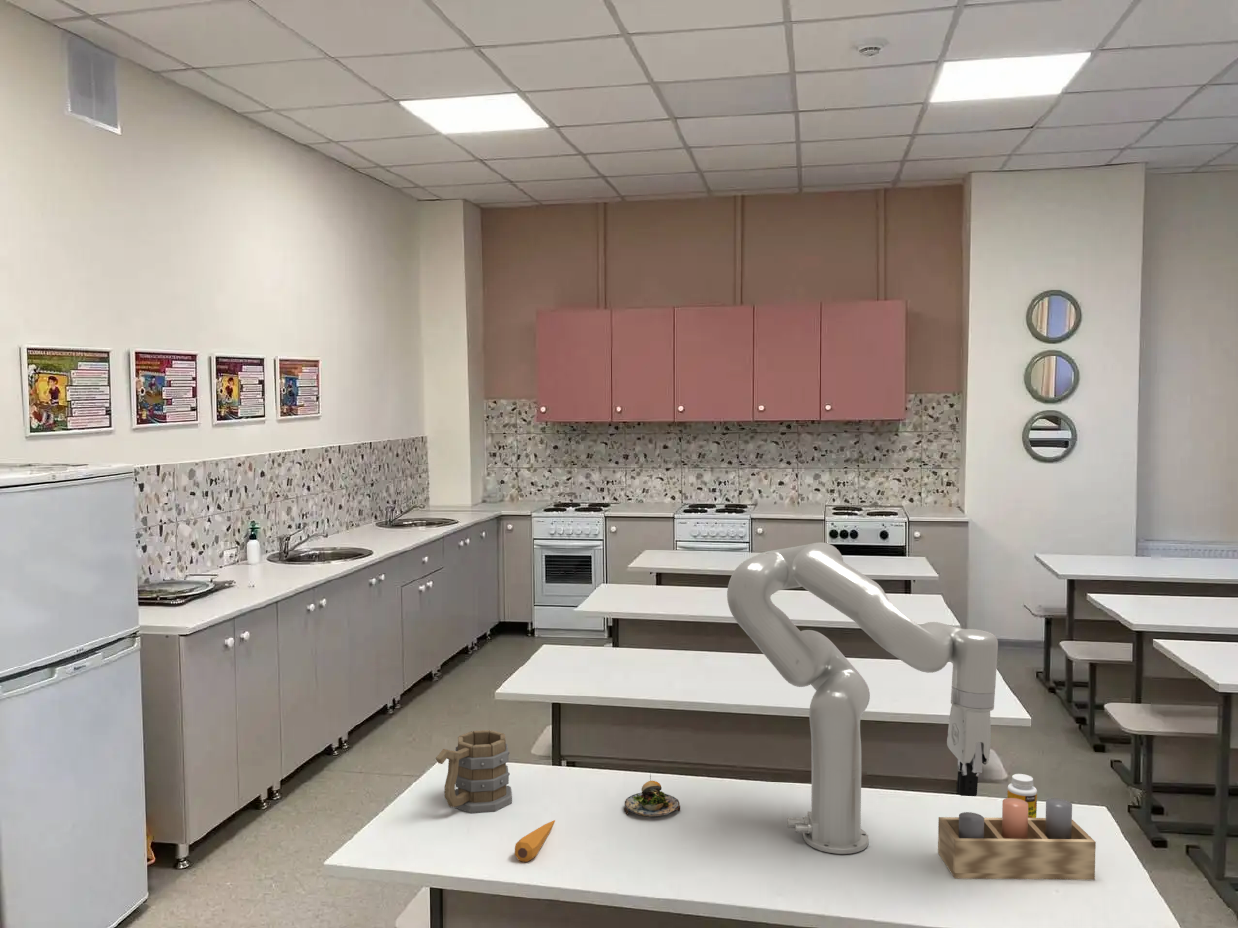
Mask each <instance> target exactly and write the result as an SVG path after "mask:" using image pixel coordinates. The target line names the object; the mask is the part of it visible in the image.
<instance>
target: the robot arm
mask: <svg viewBox="0 0 1238 928" xmlns="http://www.w3.org/2000/svg"><path fill="white" fill-rule="evenodd" d="M801 587H802V588H803V589H805V590H806V591H807V592H809V593H811V594H813V595H814V596H816V598H819V599H820V600H821V601H822V602H825V603H827V604H828V605H830V606H831V607H832V608H834V609H836V611H839V613H841V614H843V615H844V616H846V617H847V618H849V619H850V620H852V621H853V622H854V623H856V624H857V626H858V627H859V628H860V629H861V630H862V631H864V633H866V635H868V636H869V637H870V639H872V640H873V641H874V642H875V643H877V645H879V646H880V647H881V648H882V649H884V650H885V651H886V652H888V653H889V654H891V655H892V656H893V657H895V658H896V659H898V660H900V661H901V662H903V663H905V665H908V666H909V667H911V668H912V669H915V670H916V671H918V672H921V673H922V672H923V673H927V674H928V673H938V672H939V671H941V670H942V669H944V668H945V666H946V665H947V664H948V663H951V664H952V672H951V673H952V675H951V676H952V677H951V689H950V690H951V693H950V704H951V705H950V706H951V707H950V712H949V718H948V719H949V720H948V729H947V738H946V745H947V748H948V749H949V750H950V752H951V754H953V755H954V757H955V758H956V759H957V770H958V771H957V779H956V782H957V783H956V792H957V793H958V794H959V796H961V797H962V796H963V797H977V795H978V783H979V781H978V780H979V775H980V774H983V765H984V766H986V765H987V764H988V763H989V762H990V756H991V755H990V754H991V742H992V741H991V740H992V739H991V737H992V736H991V732H992V731H991V728H992V727H991V722H992V721H991V711H994V709H995V699H996V698H995V695H996V681H997V666H998V664H997V663H998V651H999V650H998V647H999V641H998V638H997V635H995V634H993V633H992V632H990V631H987V630H982V629H976V628H961V627H957V626H953V625H949V624H946V623H941V622H938V621H929V622H928V621H927V622H925V623H923V624H921V625H920V624H918V623H917V622H915V621H913V620H912V619H910V618H909V617H908V616H906V615H905V614H903V613H902V612H901V611H900V610H898V608H896V606H894V605H893V603H892V602H891V601H890V599H889V598H888V595H887V594H886V592H885V590H884V588H882V586H881V585H879V583H878V582H876V581H875V580H873V579H871V578H870V577H869V576H867V575H865V574H863V573H862V572H860V571H858V570H857V569H855V568H854V567H852V566H851V565H849V564H847V563H845V562H844V558H843V556H842V553H841V552H840V550H839V549H837V547H836V546H834V545H833V544H831V543H830V544H829V543H827V542H821V541H820V542H813V543H809V544H803V545H798V546H791V547H786V548H779V549H773V550H768V551H763V552H761V553H758V554H757V555H754V556H752V557H750V558H747V559H746V560H744V561H743V562H741V563H740V564H739V565H738V566H737V567H736V568H735V569H734V571H733V572H732V574H731V576H730V579H729V582H728V585H727V590H726V591H727V592H726V597H727V604H728V607H729V610H730V612H731V615H732V617H733V618H734V620H735V622H736V623H737V624H738V626H739V627H740V628H741V629H742V630H743V631H744V632H745V634H746V635H747V636H748V637H749V638H750V640H751V641H752V642H753V643H754V644H755V645H756V647H757V648H758V650H759V651H761V653H762V655H764V656H765V657H766V659H767V660H768V662H770V663H771V665H772V666H773V667H774V668H775V670H776V671H777V672H778V673H779V674H780V675H781V677H782V678H783V679H784V680H785V681H786V682H787V683H788V684H790V685H792V686H794V687H797V688H804V687H809V686H810V685H811V686H812V688H813V689H814V690H815V692H814V694H813V696H812V698H811V701H810V705H809V711H808V715H809V726H810V727H809V728H810V738H811V793H810V794H811V796H810V797H811V798H810V799H811V804H810V807H811V808H810V811H807V816H804V815H803V816H802V817H801V818H799V817H798V818H797V817H786V825H787V826H786V827H787V828H788V829H794V830H795V833H802V837H803V838H802V839H803V841H804V842H805V843H806V844H807V845H808V846H810V847H812V848H813V849H815V850H818V851H821V852H825V853H829V854H836V855H849V854H855V853H858V852H862V851H864V850H865V849H867V847H868V845H869V843H870V842H869V840H870V838H869V835H868V833H867V832H866V831H865V830H864V829H862V828H861V827H862V826H861V825H862V824H861V823H862V822H861V821H862V813H861V812H862V741H861V740H862V737H861V718H862V717H863V714H864V712H865V711H866V709H867V707H868V706H869V703H870V699H871V698H870V697H871V696H870V695H871V693H870V688H869V686H868V684H867V682H866V680H865V678H864V677H863V676H862V675H861V673H860V672H859V671H858V670H857V669H856V668H855V666H854V665H853V663H852V662H850V661H849V660H848V658H846V657H845V655H844V654H843V653H842V652H841V650H839V648H838V647H837V646H836V645H835V644H834V642H832V641H831V640H830V639H829V637H827V636H825V635H824V634H822V633H821V632H819V631H817V630H812V629H802V630H800V629H799V628H798V627H797V626H796V624H795V623H794V622H792V619H790V618H789V616H788V615H787V614H786V613H785V612H784V611H782V610H781V609H780V608H779V607H777V606H776V605H775V604H774V603H773V601H772V599H771V597H772V595H774V594H775V593H777V592H779V591H784V590H790V589H795V588H801Z"/></svg>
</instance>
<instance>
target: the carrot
mask: <svg viewBox="0 0 1238 928" xmlns="http://www.w3.org/2000/svg"><path fill="white" fill-rule="evenodd" d="M555 822H556V819H554V820H551V821H549V822H546V823H545V824H543V825H541V826H540V827H538V828H536V829H534V830H533V831H531V832H530V833H528V834H526V835H524V836H523V837H521V838H520V839H519V840H518V841H517V842H516V843H515V845H514V857H516V858H517V859H518V861H519V862H526V863H527V862H531V861H532V860H533V859H534V858H535V857H536V856H537V855H538V854H539V852H540V850H541V848H542V846H543V845H544V843H545V842H546V840H547V838H548V836H549V835H550V833H551V832H552V829H553V826H554V825H555Z"/></svg>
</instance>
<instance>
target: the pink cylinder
mask: <svg viewBox="0 0 1238 928" xmlns="http://www.w3.org/2000/svg"><path fill="white" fill-rule="evenodd" d="M1001 807H1002V808H1001V809H1002V816H1001V818H1002V837H1003V838H1004V839H1028V803H1027V802H1025V801H1023V800H1021V799H1016V798H1004V799H1002V806H1001Z"/></svg>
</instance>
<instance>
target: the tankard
mask: <svg viewBox="0 0 1238 928" xmlns="http://www.w3.org/2000/svg"><path fill="white" fill-rule="evenodd" d="M509 756H510V751H509V747H508V743H507V742H506V734H505V733H504V732H499V731H496V730H492V729H491V730H490V729H484V730H481V729H480V730H472V731H469V732H465V733H463V734H461V735H459V736H458V737H457V746H455V750H450V749H446V748H442V750H441V751H440V752H439V753H438V754H437V756H436V757H435V761H436V763H438V764H440V765H443V764H444V763H445V761H446V760H448V766H447V768H448V769H447V773H446V774H447V775H446V779H445V784H444V799H445V801H446V802H447V804H448V806H449V807H450V808H455V809H458V810H461V811H464V812H466V813H468V814H478V813H491V812H493V813H494V812H497V811H499V810H501V809H503V808H505V807H507V806H508V805H511V804H512V803H513V794H512V793H513V792H512V786H510V785H509V783H510V778H509V776H510V772H509V767H508V765H507V763H508V762H509Z"/></svg>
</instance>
